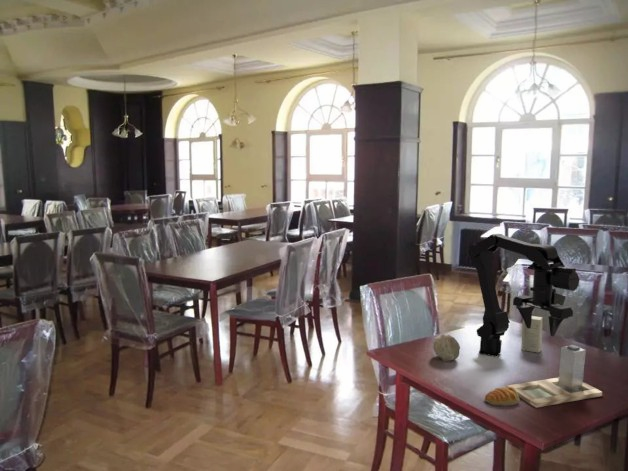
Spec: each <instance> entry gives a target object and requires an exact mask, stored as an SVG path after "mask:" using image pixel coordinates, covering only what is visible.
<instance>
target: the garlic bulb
mask: <svg viewBox="0 0 628 471" xmlns="http://www.w3.org/2000/svg"><path fill="white" fill-rule="evenodd" d="M432 343H433V346H432V347H433V350H434V353H435V355H436V356H438V357H439V358H440V359H441V360H443V361H446V362H450V361H455V360H457V358H458V357H459V356H460V349H461V345H460V343H459V342H458V341H457V339H456V338H455V337H454V336H452V335H451V334H447V333H442V334H440V335H438V336H437V337H435V339H434V341H433V342H432Z"/></svg>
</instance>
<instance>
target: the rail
mask: <svg viewBox="0 0 628 471" xmlns="http://www.w3.org/2000/svg"><path fill="white" fill-rule="evenodd" d="M558 380H559V376H558V377H553V378H546V379H539V380H533V381H528V382H521V383H514V384H507V385H506V387H507V386H508V387H512V388H514V389H515V390H516V391H517V394H518V396H519V399H520V400H523V401H524V402H527V404H529V405H531V406H533V407H535V408H542V407H546V406H552V405H559V404H564V403H569V402H575V401H580V400H582V401H583V400H585V399H592V398H598V397H603V391H601V390H600V389H598V388H596V387H593V386H592V385H590V384H588V383H586V382H583V384H582V391H580V392H574V393H569V392H567V391H565V390H564V389H562V388H560V387H558Z"/></svg>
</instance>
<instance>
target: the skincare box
mask: <svg viewBox="0 0 628 471" xmlns="http://www.w3.org/2000/svg"><path fill="white" fill-rule="evenodd" d="M521 329H522V330H521V349H520V350H522V351H527V352H532V353H537V354H539V353H540V352H541V350H542V340H543V337H542V336H543V316H535V315H532V320H531V328H530V329H528V328H527V326H526V324H525V322H524V320H523V319H522V325H521Z"/></svg>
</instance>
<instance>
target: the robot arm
mask: <svg viewBox="0 0 628 471" xmlns="http://www.w3.org/2000/svg"><path fill="white" fill-rule="evenodd" d="M499 248H500V249H503V250H506V251H509V252H513V253H515V254H518V255H521V256H524V257H525V258H526V259H527V260H529V261H530V262H532V263H531V264H530V265H528V266H527V269H528V270H533V276H532V278H533V280H532V281H533V282H532V286H530V288H529V291H531V292H532V296H530V295H525V294H524V295H518V296H515V297H514V298H512V299H513V300H512V305H513V306H515V308H516V309H517V311H518V312H519V314H520V316H521V317H522V321H523V320H524V322H525V324H526V326H527V328H528V329H530V328H531V320H532V316H533V311H534V309H535V308H536V309H540V310H543V311H547V312H548V314H549V315H550V316H548V325H549V333H550V336H551V337H555V335H556V333H557V331H558V329H559V327H560V325H561V323H562V322H563V321H564V320H566V319H569V318H571V317H574V310H573V308H572V306H571V307H570V306H567V305H564V303H565V301H566V298H567V297H566V296H565V295H562V294H559V293H558V292H557V289H561V290H567V291H572V292H574V291H575V290H577V289H578V287H579V284H580V278H579V274H578V273H577V272H576V270H577V268H576V267H565V264H564V263H563V262H564V261H562V259H561V257H560V256H559V254H558V250H557V249H556V247H555V246H554V245H551V244H544V243H543V244H542V243H541V244H540V243H539V244H538V243H529V242H526V241H523V240H519V239H517V238H513V237H510V236H507V235H503V234H502V233H493V234H490V235H489V236H487V237H486V238H485V239H482V240H480V241H478V242H477V243H473V244H471V245H470V246H469V247H468V249H467V256H468V259H469V261H470V263H471V265H472V266H473V267H474V269H475V270H476V273H477V277H478V282H479V287H480V292H481V296H482V301H483V305H484V312H483V316H482V325H481V326H480V327H478V328H477V329H476V335H477V336H478V337H480V341H479V342H480V346H479V351H478V353H479V354H481V355H487V356H491V357H499V355H500V354H501V352H502V344H503V343H502V340H501V337H502V336H504V335H505V333H506V332H507V330H509V327H510V323H511V322H510V320H509V313H508V311H506V310H505V311H503V310H502V308H501V307H500V303H499V298H498V294H497V289H496V285H495V279H494V276H493V271H492V264H493V262H494V261H493V260H494V253H495V252H496V251H498V249H499ZM556 288H557V289H556Z"/></svg>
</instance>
